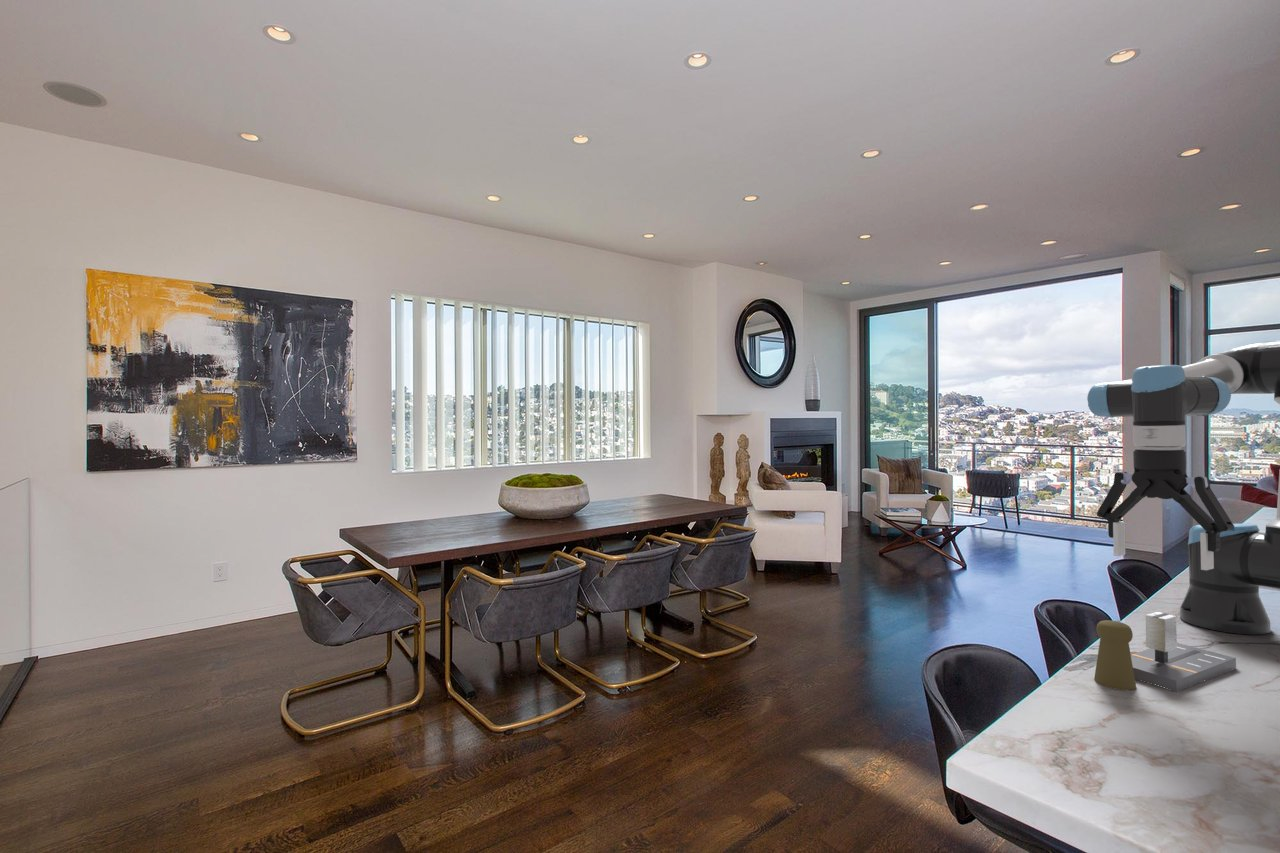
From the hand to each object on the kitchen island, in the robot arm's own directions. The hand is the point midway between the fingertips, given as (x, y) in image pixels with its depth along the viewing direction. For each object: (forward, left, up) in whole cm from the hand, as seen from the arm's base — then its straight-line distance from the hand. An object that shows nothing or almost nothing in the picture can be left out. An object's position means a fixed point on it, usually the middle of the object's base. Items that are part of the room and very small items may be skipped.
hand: (1161, 561), depth 115 cm
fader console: (-3, 0, -21) cm, 21 cm away
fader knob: (+1, 0, -18) cm, 18 cm away
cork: (+13, -2, -21) cm, 25 cm away
